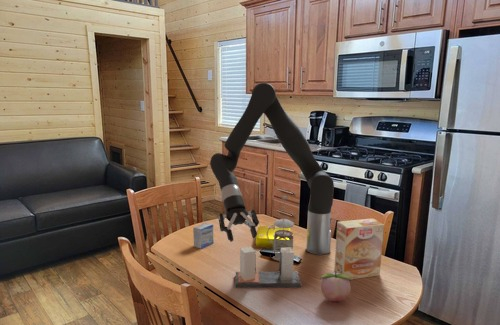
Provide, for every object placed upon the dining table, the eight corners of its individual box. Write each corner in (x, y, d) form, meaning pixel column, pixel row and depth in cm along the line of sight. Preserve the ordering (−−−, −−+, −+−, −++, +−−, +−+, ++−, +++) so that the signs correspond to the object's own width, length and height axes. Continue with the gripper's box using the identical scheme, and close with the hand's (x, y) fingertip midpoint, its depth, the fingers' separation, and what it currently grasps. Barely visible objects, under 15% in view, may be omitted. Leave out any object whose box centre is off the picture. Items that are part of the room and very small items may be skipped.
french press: (294, 262, 136) (296, 200, 131) (264, 259, 138) (265, 198, 133) (296, 252, 145) (298, 193, 140) (268, 249, 147) (269, 191, 143)
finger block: (251, 273, 124) (251, 246, 122) (256, 278, 120) (256, 250, 118) (240, 275, 122) (240, 248, 120) (244, 280, 118) (244, 253, 117)
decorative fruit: (344, 293, 115) (346, 264, 113) (352, 308, 106) (354, 277, 105) (316, 293, 114) (317, 264, 112) (322, 308, 106) (323, 277, 104)
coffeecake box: (343, 281, 122) (346, 228, 119) (333, 271, 129) (336, 220, 125) (380, 275, 126) (385, 224, 123) (369, 266, 133) (372, 217, 129)
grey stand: (297, 275, 126) (298, 245, 124) (300, 287, 118) (302, 255, 116) (235, 275, 125) (235, 245, 123) (235, 287, 117) (235, 255, 115)
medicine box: (200, 249, 147) (200, 229, 145) (193, 246, 149) (193, 227, 148) (213, 243, 153) (213, 224, 151) (206, 240, 156) (206, 222, 154)
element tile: (290, 235, 163) (290, 226, 162) (290, 249, 148) (290, 238, 147) (258, 234, 165) (258, 224, 164) (255, 247, 150) (255, 236, 149)
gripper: (216, 196, 127) (226, 237, 118) (252, 192, 132) (265, 231, 124) (212, 206, 133) (222, 246, 124) (247, 202, 138) (258, 240, 129)
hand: (243, 239), depth 124 cm, fingers open, 8 cm apart
